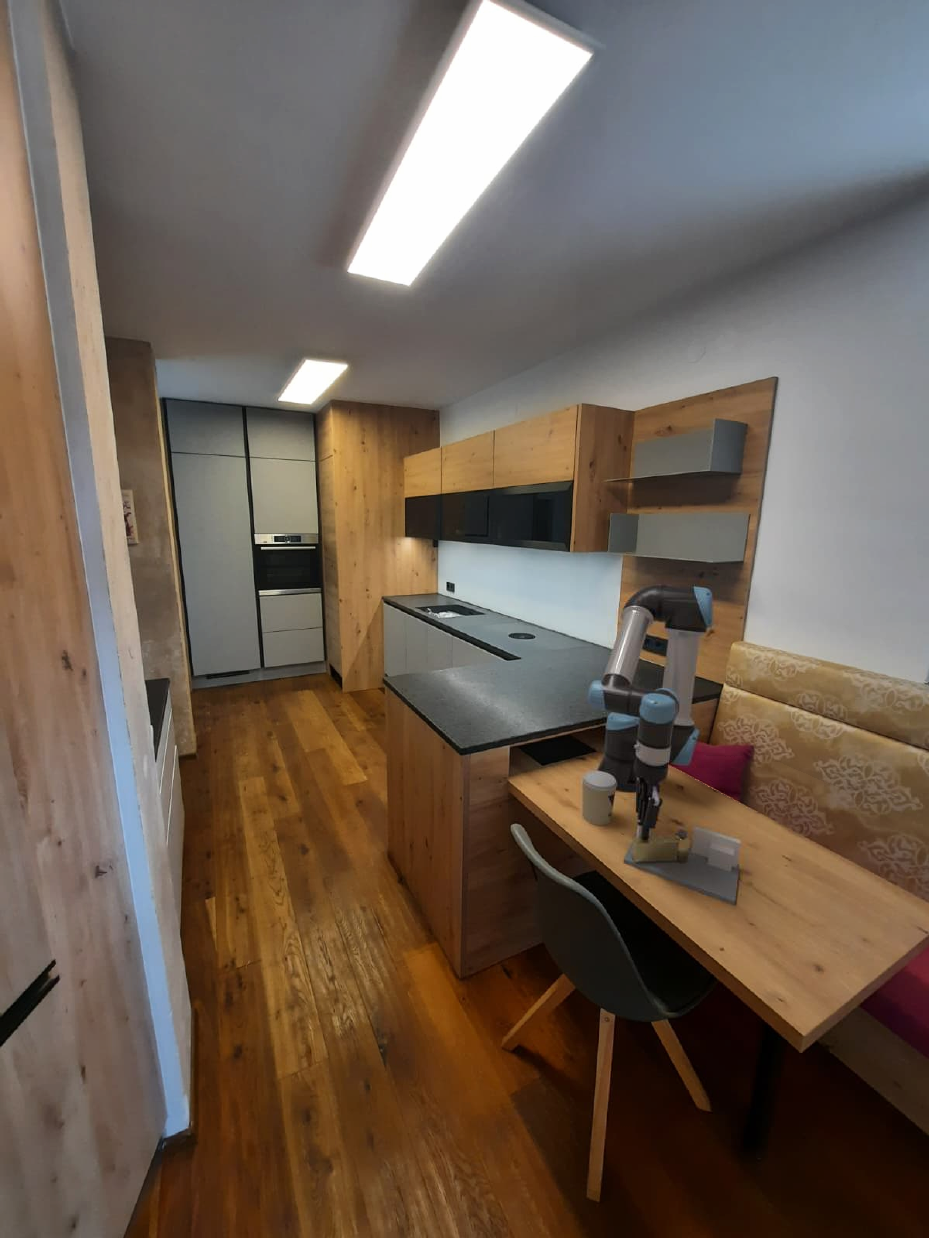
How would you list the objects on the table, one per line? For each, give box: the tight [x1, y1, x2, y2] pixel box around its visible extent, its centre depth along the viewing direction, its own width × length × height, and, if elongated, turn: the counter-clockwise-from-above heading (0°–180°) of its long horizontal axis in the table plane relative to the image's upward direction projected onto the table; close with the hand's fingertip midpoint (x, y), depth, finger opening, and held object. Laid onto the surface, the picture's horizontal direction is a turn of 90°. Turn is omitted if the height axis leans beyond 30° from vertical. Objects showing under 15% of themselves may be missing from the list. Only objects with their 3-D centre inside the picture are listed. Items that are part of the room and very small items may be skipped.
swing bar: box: [631, 832, 692, 862], centre depth 117 cm, size 14×4×6 cm, turn 95°
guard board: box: [623, 825, 741, 906], centre depth 116 cm, size 14×24×8 cm, turn 57°
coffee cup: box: [581, 770, 617, 826], centre depth 135 cm, size 9×9×12 cm
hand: (641, 846), depth 119 cm, fingers closed
